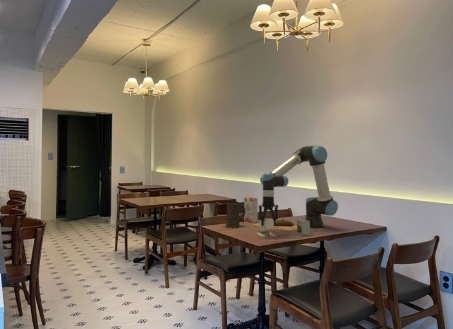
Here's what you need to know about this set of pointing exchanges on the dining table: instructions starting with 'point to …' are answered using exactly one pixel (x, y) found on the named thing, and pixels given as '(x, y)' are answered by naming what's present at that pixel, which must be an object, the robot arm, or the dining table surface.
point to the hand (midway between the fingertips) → (268, 230)
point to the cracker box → (251, 209)
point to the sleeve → (268, 224)
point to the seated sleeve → (261, 229)
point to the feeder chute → (303, 227)
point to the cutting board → (283, 225)
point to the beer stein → (234, 214)
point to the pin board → (266, 234)
